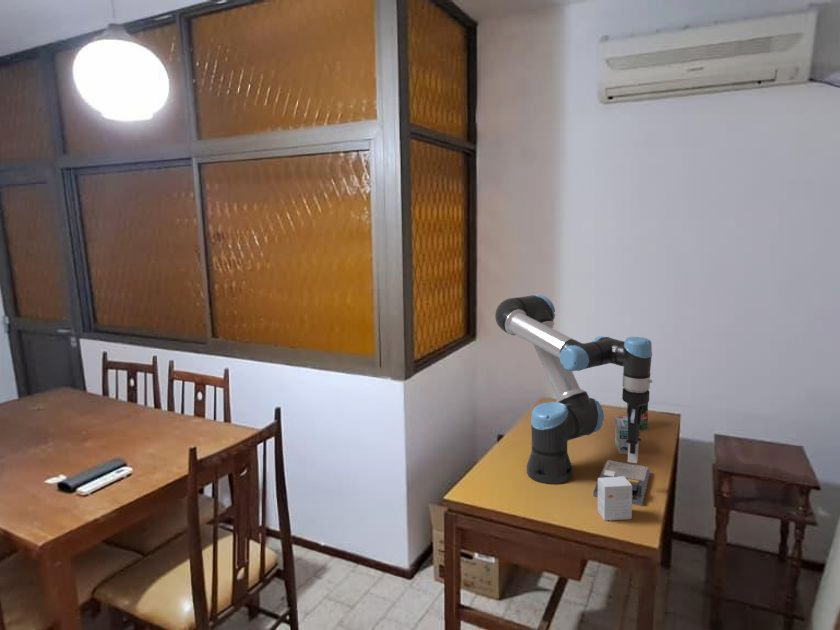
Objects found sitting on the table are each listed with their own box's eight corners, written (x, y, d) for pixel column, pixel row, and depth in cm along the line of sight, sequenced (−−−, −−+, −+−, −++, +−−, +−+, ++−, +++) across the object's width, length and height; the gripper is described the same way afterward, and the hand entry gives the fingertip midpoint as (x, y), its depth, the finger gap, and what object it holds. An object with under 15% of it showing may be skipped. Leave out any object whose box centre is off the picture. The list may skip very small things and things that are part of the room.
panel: (642, 506, 157) (642, 493, 156) (593, 496, 163) (593, 484, 163) (649, 473, 176) (650, 462, 175) (605, 466, 182) (605, 455, 182)
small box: (623, 509, 156) (624, 475, 154) (632, 519, 150) (633, 485, 148) (596, 510, 155) (597, 477, 153) (604, 521, 150) (604, 486, 148)
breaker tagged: (636, 490, 159) (636, 484, 159) (625, 488, 160) (625, 482, 160) (638, 486, 165) (639, 480, 165) (628, 484, 166) (628, 478, 166)
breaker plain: (611, 491, 163) (611, 486, 162) (601, 489, 164) (601, 484, 163) (615, 476, 168) (615, 471, 167) (605, 474, 170) (605, 469, 169)
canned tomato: (633, 422, 220) (634, 396, 218) (651, 427, 214) (652, 401, 212) (622, 426, 216) (623, 400, 214) (640, 432, 209) (640, 405, 207)
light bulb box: (638, 455, 190) (639, 426, 188) (618, 454, 191) (619, 426, 189) (633, 443, 200) (633, 415, 198) (614, 442, 201) (614, 415, 199)
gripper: (647, 397, 152) (643, 473, 157) (651, 383, 163) (647, 455, 168) (619, 393, 156) (616, 468, 160) (625, 380, 167) (622, 450, 171)
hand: (632, 461), depth 164 cm, fingers closed
